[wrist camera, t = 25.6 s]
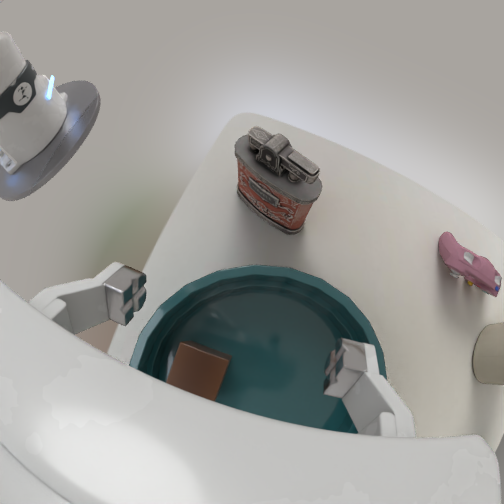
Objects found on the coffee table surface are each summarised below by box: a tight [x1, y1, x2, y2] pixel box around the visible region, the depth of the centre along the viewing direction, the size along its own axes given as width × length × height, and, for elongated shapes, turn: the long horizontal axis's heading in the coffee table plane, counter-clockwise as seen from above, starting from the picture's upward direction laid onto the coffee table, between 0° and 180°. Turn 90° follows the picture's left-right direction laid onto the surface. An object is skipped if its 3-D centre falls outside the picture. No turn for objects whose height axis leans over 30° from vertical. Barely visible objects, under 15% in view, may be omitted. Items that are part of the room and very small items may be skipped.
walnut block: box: [166, 340, 232, 402], centre depth 21 cm, size 4×4×4 cm
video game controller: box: [439, 232, 502, 297], centre depth 24 cm, size 10×5×7 cm, turn 64°
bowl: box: [129, 265, 387, 434], centre depth 20 cm, size 21×21×5 cm
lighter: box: [235, 126, 322, 235], centre depth 23 cm, size 8×3×10 cm, turn 49°
